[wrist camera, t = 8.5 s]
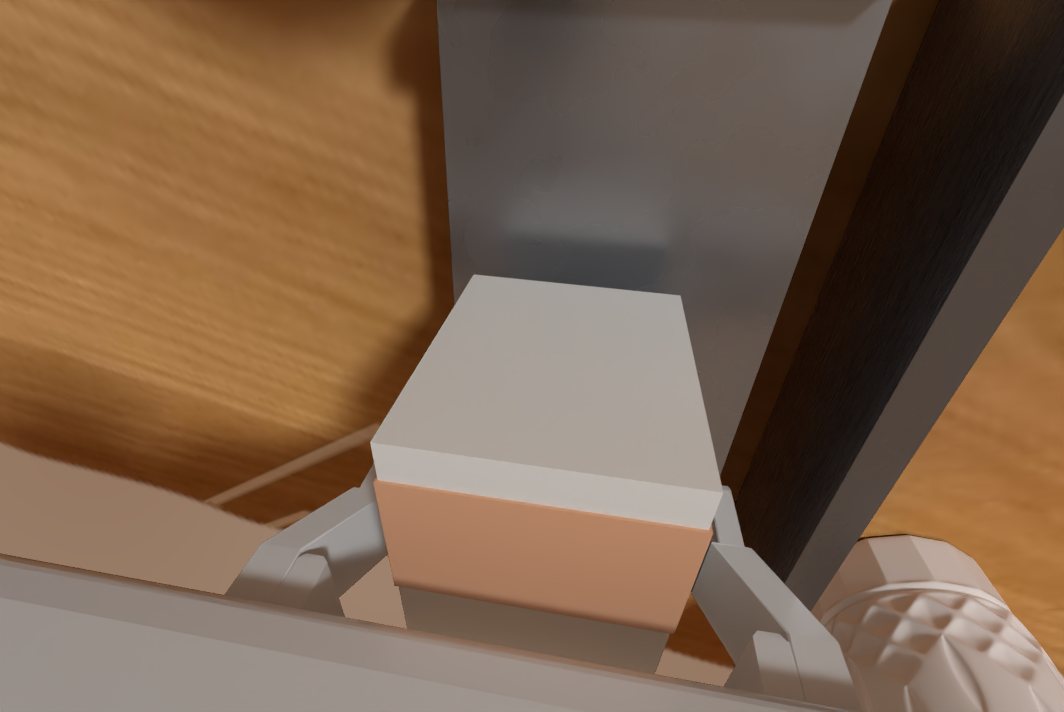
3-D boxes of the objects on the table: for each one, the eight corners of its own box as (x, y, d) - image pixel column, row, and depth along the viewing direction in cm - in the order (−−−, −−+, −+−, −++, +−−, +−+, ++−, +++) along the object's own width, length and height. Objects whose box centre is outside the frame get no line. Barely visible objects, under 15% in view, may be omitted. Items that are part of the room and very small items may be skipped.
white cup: (797, 631, 25) (882, 925, 17) (781, 533, 21) (882, 850, 13) (984, 625, 23) (1191, 965, 14) (1003, 513, 19) (1298, 887, 11)
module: (478, 493, 17) (416, 692, 12) (471, 274, 12) (365, 444, 7) (631, 516, 16) (634, 735, 11) (682, 295, 12) (727, 496, 7)
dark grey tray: (482, 519, 24) (453, 621, 20) (464, -78, 12) (377, -137, 7) (740, 559, 23) (767, 677, 18) (1028, -65, 10) (1297, -128, 6)
